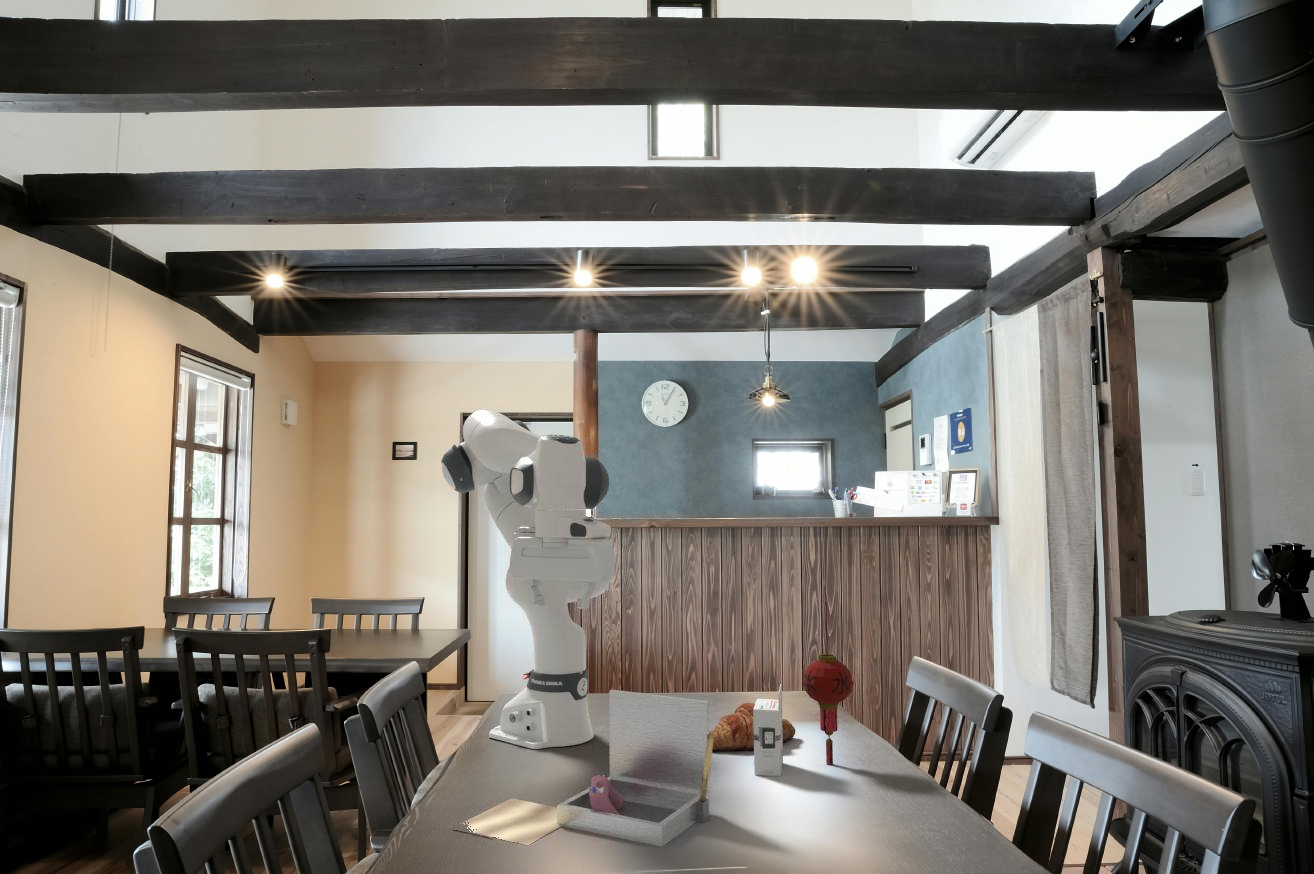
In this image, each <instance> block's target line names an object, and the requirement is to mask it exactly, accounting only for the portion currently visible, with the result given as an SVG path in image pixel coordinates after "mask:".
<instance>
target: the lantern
mask: <svg viewBox="0 0 1314 874" xmlns="http://www.w3.org/2000/svg"><path fill="white" fill-rule="evenodd" d="M827 602H828V601H825V603H824V604H825V606H824V607H825V638H826V640H825V644H826V645H825V647H826V649H825V650H826V651H825V652H826V653H822V654H821V653H819V654H818V655H817V656H818V657H817V659H816V660H814V661H812V662H811V663H809V664H808V666H807V667H806V669H805V670H804V673H803V678H802V683H803V688H804V691H805V692H806V694H807V695H808V696H809V698H810V699H812V700H814V701H815V702H817V704H818V706H819V719H820V720H819V725H820V728H819V729H820V731H821V732H824V733H825V735H826V736H828V738H826V740H825V749H826V750H825V753H826V754H825V755H826V756H825V757H826V759H825V762H826V765H829V766H832V765H834V749H833V747H834V746H833V742H834V741H833V740H832V738H831V736H832V735H833V734H834V733H835V732H837V731H838V706H839V704H840V703H841V702H843V701H845V700H847V699H848V697H849V696H850V694H851V693H853V692H852V691H853V686H854V681H853V677H852V672H851V670H850V669H849V668H848V667H847V666H846V664H845V663H843V662H840V661H839V660H838V658H837V655H835V654H832V653H829V649H828V648H829V647H828V645H829V643H828V608H827V607H828V605H827Z"/></svg>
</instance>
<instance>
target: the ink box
mask: <svg viewBox="0 0 1314 874" xmlns="http://www.w3.org/2000/svg"><path fill="white" fill-rule="evenodd" d="M777 696H778V697H777V699H773V698H772V699H771V698H757V699H756V701H755V703H754V704H755V706H754V709H753V715H754V750H753V760H754V761H753V766H754V769H753V770H754V775H755V776H768V777H781V776H782V772H783V763H784V754H783V753H784V751H783V750H784V745H783V744H784V743H783V742H784V741H783V735H782V719H783V685H782V683H780V686H779V690H778V694H777Z"/></svg>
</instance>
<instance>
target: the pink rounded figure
mask: <svg viewBox="0 0 1314 874" xmlns="http://www.w3.org/2000/svg"><path fill="white" fill-rule="evenodd" d="M590 781H591V784H590V785H591V786H590V785H589V786H588V788H589V795H590V802H591V806H592V808H593V809H592V810H597V811H602V812H607V813H612V814H617V815H621V813H620V812H619V811H618V810H620V809H622V808H623V807H624V801H623V799H622V797H621V795H620V794H619V793H618V792H617V791H616V790H615V788H614V787H613V786H612V785H611V783H610V782H609V780H608V777H606V774H603V775H600V774H597V775H594V776H592V777H591V779H590ZM590 787H591V788H590Z"/></svg>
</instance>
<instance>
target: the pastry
mask: <svg viewBox="0 0 1314 874" xmlns="http://www.w3.org/2000/svg"><path fill="white" fill-rule="evenodd" d="M754 706H755V703H753V702H744V703H742V704H740V705H738V706H737V707H736V709H735V710H734V713H732V714H726V715H724V716H722V717H721V718H720V721H719V722H718V723H717V724H716V725H715V727H714V728H713V729H712V730H709V734H713V735H714V743H713V750H712V752H716V751H719V752H725V751H731V752H733V751H735V752H737V751H754V715H753V709H754ZM796 732H797V731H796V728H795V727H794V726H793V724H792V723H791V722H790V721H789V720H788V719H785V718H782V735H783V742H786V741H788V740H791V739H793V738H794V737H795V735H796Z"/></svg>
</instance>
